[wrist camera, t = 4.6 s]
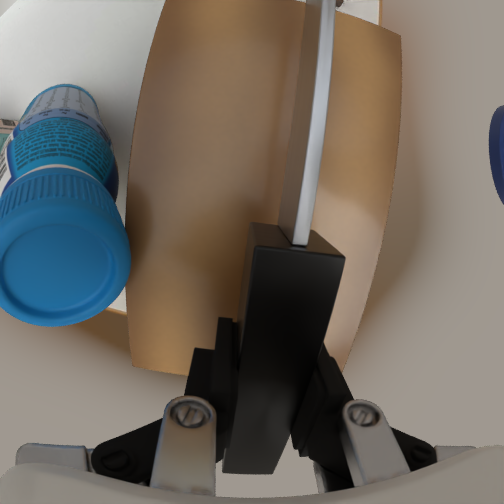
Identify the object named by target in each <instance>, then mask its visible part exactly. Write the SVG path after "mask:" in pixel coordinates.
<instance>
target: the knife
mask: <svg viewBox="0 0 504 504" xmlns="http://www.w3.org/2000/svg"><path fill="white" fill-rule="evenodd" d="M335 11H336V0H306V8H305V17H304V27H303V36H302V45H301V54H300V62H299V71H298V79H297V87H296V95H295V103H294V111H293V119H292V126H291V134H290V141H289V148H288V155H287V162H286V169H285V176H284V183H283V190H282V197H281V203H280V210H279V217H278V225H274V224H266V223H258V222H250V223H249V229H248V237H247V244H246V252H245V260H244V267H243V275H242V282H241V290H240V298H239V305H238V313H237V321H236V322H237V370H238V400H237V406H236V412H235V418H234V425H233V431H232V437H231V443H230V449H225V452H224V458H223V459H222V472H223V473H231V474H273V472H274V470H275V467H276V466H277V463H278V461H279V459H280V457H281V455H282V452H283V450H284V448H285V445H286V443H287V441H288V439H289V436H290V434H291V430H292V428H293V425H294V423H295V420H296V418H297V415H298V413H299V410H300V407H301V405H302V402H303V399H304V397H305V394H306V391H307V389H308V386H309V383H310V380H311V377H312V374H313V373H314V370H315V367H316V364H317V361H318V358H319V355H320V352H321V349H322V345H323V342H324V339H325V336H326V332H327V329H328V326H329V322H330V319H331V315H332V312H333V308H334V304H335V301H336V297H337V293H338V289H339V285H340V281H341V277H342V273H343V269H344V265H345V260H346V257H345V256H344V255H343V254H342V253H341V252H340V251H338V250H337V249H336V248H335V247H334V246H332V245H331V244H330V243H329V242H328V241H327V240H325V239H324V238H323V237H322V236H321V235H319V234H318V233H317V232H316V231H314V230H310V229H311V223H312V217H313V212H314V206H315V199H316V193H317V187H318V180H319V174H320V167H321V160H322V153H323V145H324V138H325V130H326V121H327V113H328V104H329V94H330V84H331V73H332V61H333V47H334V31H335Z"/></svg>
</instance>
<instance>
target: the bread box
mask: <svg viewBox="0 0 504 504" xmlns="http://www.w3.org/2000/svg"><path fill="white" fill-rule="evenodd" d="M305 8H306V3H305V2H300V1H296V0H166V1H165V4H164V6H163V9H162V12H161V15H160V18H159V21H158V25H157V28H156V31H155V34H154V38H153V41H152V45H151V49H150V52H149V56H148V60H147V64H146V68H145V73H144V77H143V82H142V86H141V91H140V96H139V101H138V107H137V112H136V118H135V124H134V131H133V138H132V145H131V154H130V162H129V172H128V184H127V197H126V216H125V230H126V233H127V236H128V239H129V244H130V251H131V269H130V274H129V277H128V280H127V283H126V285H125V288H126V307H127V320H128V332H129V342H130V350H131V359H132V366H134V367H139V368H144V369H150V370H155V371H161V372H167V373H174V374H181V375H188V374H189V370H190V365H191V360H192V356H193V351H194V348H195V347H196V348H204V349H212V350H214V349H215V341H216V332H217V324H218V317H226V318H233V322H236V321H237V313H238V305H239V298H240V290H241V282H242V275H243V267H244V260H245V252H246V244H247V237H248V229H249V223H250V222H258V223H266V224H274V225H278V217H279V210H280V203H281V197H282V190H283V183H284V176H285V169H286V162H287V155H288V148H289V141H290V134H291V126H292V119H293V111H294V103H295V95H296V87H297V79H298V71H299V62H300V54H301V45H302V36H303V27H304V17H305ZM401 52H402V50H401V36H400V35H398V34H396V33H394V32H392V31H389V30H387V29H385V28H383V27H380V26H378V25H375V24H373V23H370V22H368V21H365V20H362V19H359V18H357V17H354V16H351V15H348V14H345V13H342V12H338V11H335V31H334V47H333V61H332V73H331V84H330V94H329V104H328V113H327V121H326V130H325V138H324V145H323V153H322V160H321V167H320V174H319V180H318V187H317V193H316V199H315V206H314V212H313V217H312V223H311V229H310V230H314V231H316V232H317V233H318V234H319V235H321V236H322V237H323V238H324V239H325V240H327V241H328V242H329V243H330V244H331V245H332V246H334V247H335V248H336V249H337V250H338V251H340V252H341V253H342V254H343V255H344V256H345V257H346V260H345V265H344V269H343V273H342V277H341V281H340V285H339V289H338V293H337V297H336V301H335V304H334V308H333V312H332V315H331V319H330V322H329V326H328V329H327V332H326V336H325V339H324V344H325V347H326V349H327V351H328V353H329V355H330V356H332V357H334V358H335V360H336V362H337V364H338V366H339V368H340V371H341V373H342V372H343V369H344V366H345V364H346V362H347V359H348V356H349V354H350V351H351V348H352V345H353V342H354V340H355V337H356V334H357V331H358V328H359V325H360V322H361V319H362V316H363V312H364V310H365V306H366V303H367V299H368V296H369V293H370V289H371V286H372V282H373V278H374V275H375V271H376V267H377V263H378V259H379V255H380V251H381V246H382V242H383V237H384V232H385V228H386V223H387V218H388V213H389V207H390V202H391V196H392V190H393V183H394V176H395V169H396V161H397V152H398V143H399V132H400V118H401V96H402V53H401Z"/></svg>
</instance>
